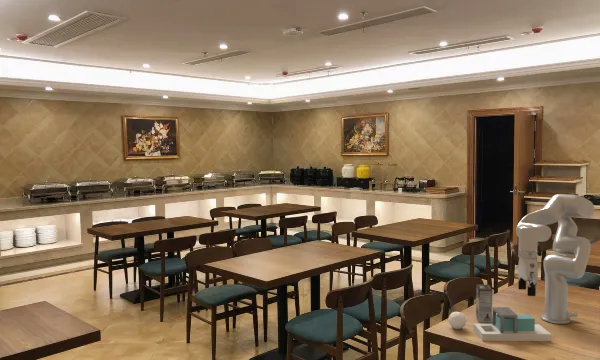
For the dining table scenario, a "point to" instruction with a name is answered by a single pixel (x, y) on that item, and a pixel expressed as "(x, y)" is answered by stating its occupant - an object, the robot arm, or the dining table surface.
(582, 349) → the dining table surface
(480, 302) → the coffee box
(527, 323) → the block
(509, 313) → the tunnel
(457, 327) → the geometric ball
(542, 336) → the white base plate
